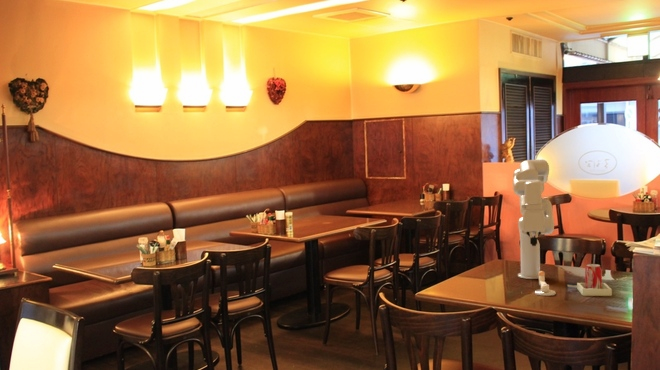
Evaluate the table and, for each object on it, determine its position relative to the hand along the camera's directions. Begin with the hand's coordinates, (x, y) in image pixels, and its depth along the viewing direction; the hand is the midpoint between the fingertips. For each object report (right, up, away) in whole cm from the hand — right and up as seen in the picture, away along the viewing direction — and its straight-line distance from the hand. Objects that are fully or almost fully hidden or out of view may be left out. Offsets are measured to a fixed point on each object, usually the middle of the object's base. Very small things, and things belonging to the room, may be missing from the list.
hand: (533, 245), depth 303 cm
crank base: (+3, -22, -8) cm, 23 cm away
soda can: (+25, -20, -9) cm, 33 cm away
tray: (+25, -21, -9) cm, 34 cm away
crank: (+3, -20, -4) cm, 20 cm away
